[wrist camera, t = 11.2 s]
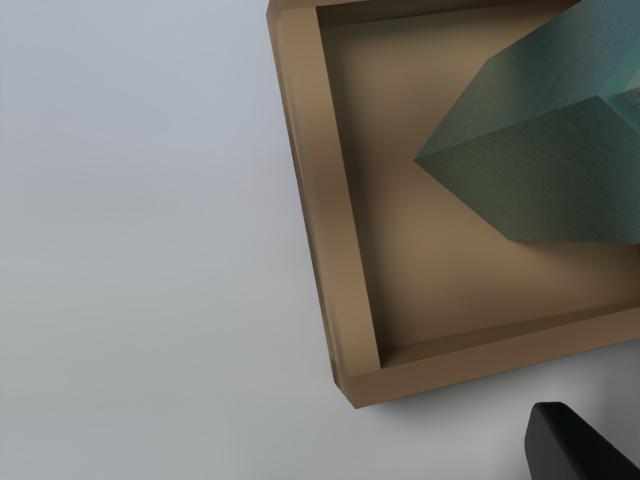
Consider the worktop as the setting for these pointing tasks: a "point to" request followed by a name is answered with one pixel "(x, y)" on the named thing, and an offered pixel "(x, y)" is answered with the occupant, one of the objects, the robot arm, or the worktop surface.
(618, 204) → the tea tin
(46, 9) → the worktop surface
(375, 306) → the box
